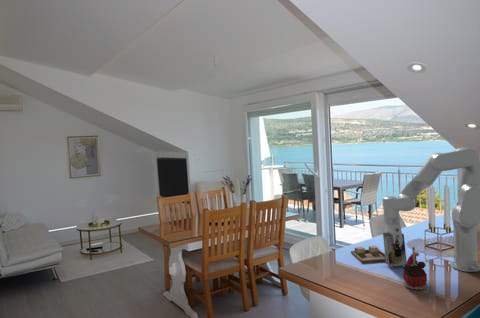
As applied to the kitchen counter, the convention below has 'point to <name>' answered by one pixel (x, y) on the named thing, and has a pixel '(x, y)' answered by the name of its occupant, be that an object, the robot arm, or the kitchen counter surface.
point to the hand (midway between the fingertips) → (395, 253)
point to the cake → (414, 272)
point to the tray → (370, 257)
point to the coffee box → (393, 251)
